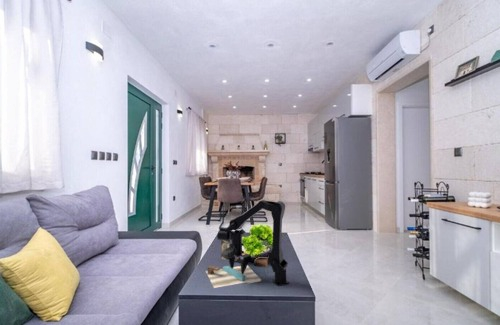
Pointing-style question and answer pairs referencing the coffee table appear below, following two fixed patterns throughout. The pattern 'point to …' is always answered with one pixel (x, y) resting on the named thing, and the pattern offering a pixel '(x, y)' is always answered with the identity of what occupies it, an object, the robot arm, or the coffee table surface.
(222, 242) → the coffee box
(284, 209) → the robot arm
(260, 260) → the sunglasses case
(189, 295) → the coffee table surface
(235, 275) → the link bar
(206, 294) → the coffee table surface
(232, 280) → the base board
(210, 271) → the keeper
